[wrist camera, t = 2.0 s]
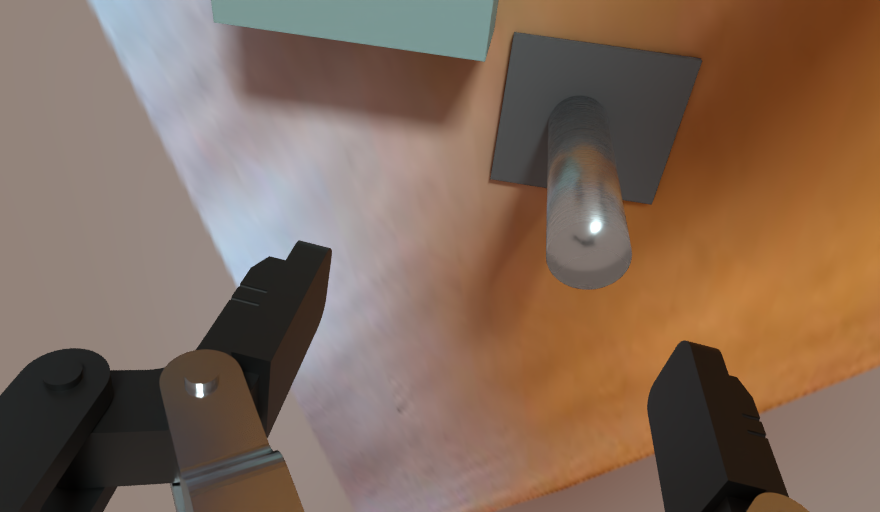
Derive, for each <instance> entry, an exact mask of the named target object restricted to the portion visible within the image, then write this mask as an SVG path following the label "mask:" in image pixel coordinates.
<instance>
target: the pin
mask: <svg viewBox="0 0 880 512" xmlns="http://www.w3.org/2000/svg"><path fill="white" fill-rule="evenodd" d="M631 258H632V250H631V245H630V239H629V234H628V228H627V223H626V217H625V212H624V206H623V201H622V195H621V190H620V184H619V179H618V173H617V168H616V162H615V157H614V151H613V146H612V140H611V135H610V129H609V124H608V118H607V114H606V111H605V109H604V108H603V106H602V105H601V104H600V103H599V102H598V101H596V100H595V99H593V98H591V97H587V96H572V97H569V98H566V99H564V100H563V101H561V102H560V103H558V104H557V105H556V106H555V108H554V109H553V111H552V112H551V114H550V117H549V122H548V176H547V236H546V261H547V265H548V268H549V270H550V271H551V273H552V274H553V275H554V276H555V277H556V278H557V279H558V280H559V281H560V282H562V283H564V284H566V285H568V286H570V287H573V288H578V289H597V288H602V287H605V286H608V285H610V284H612V283H614V282H615V281H617V280H618V279H619V278H621V277H622V276H623V275H624V273H625V272H626V271H627V269H628V268H629V265H630V263H631Z"/></svg>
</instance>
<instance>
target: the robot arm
mask: <svg viewBox="0 0 880 512" xmlns="http://www.w3.org/2000/svg"><path fill="white" fill-rule="evenodd" d="M331 256H332V250H331V248H327V247H323V246H319V245H315V244H311V243H308V242H304V241H298V242H297V243H296V244H295V246H294V248H293V249H292V251H291V253H290V254H289V256H288V258H287V259H286V260H282V259H278V258H274V257H270V256H269V257H268V258H266V259H264V260H263V261H261V262H260V263H258V264H256V265H255V266H253V267H251V269H250V270H249V271H248V273H247V274H246V276H245V277H244V279H243V280H242V282H241V283H240V287H238V288H237V289H236V291H235V292H234V294H233V295H232V298H231V300H229V302H228V303H227V304H226V306H225V307H224V309H223V311H222V312H221V313H220V315H219V316H218V318H217V319H216V321H215V323H214V324H213V325H212V327H211V328H210V330H209V331H208V333H207V335H206V336H205V337H204V339H203V340H202V342H201V343H200V345H199V346H198V347H197V349H196V350H195V351H190V352H187V353H184V354H182V355H180V356H178V357H176V358H175V359H173V360H172V361H171V362H170V363H168V365H167V366H166V367H165V368H161V369H154V370H118V371H117V370H113V371H112V370H111V371H110V368H109V365H108V363H107V361H106V360H105V359H104V358H103V357H102V356H100V355H99V354H97V353H95V352H93V351H90V350H85V349H76V348H73V349H72V348H71V349H62V350H57V351H54V352H51V353H47V354H45V355H43V356H41V357H39V358H37V359H36V360H33V361H32V362H31V363H29V364H28V365H27V366H26V367H25V368H24V369H23V370H22V371H21V372H20V374H18V376H17V377H16V378H15V379H14V380H13V381H12V383H11V384H10V385H9V386H8V387H7V388H6V390H5V391H4V392H3V393H2V394H1V395H0V512H103V511H104V509H105V507H106V506H107V504H108V502H109V500H110V498H111V497H112V495H113V493H114V492H115V490H116V488H117V486H131V485H147V484H163V483H170V486H171V490H172V495H173V499H174V504H175V508H176V512H304V509H303V507H302V504H301V501H300V499H299V496H298V493H297V491H296V488H295V486H294V483H293V481H292V478H291V475H290V473H289V470H288V467H287V465H286V463H285V460H284V458H283V456H282V454H281V453H280V452H279V451H272V449H271V447H270V445H269V443H268V440H267V438H268V436H269V434H270V432H271V429H272V427H273V425H274V423H275V421H276V418H277V416H278V414H279V412H280V410H281V407H282V405H283V403H284V401H285V399H286V396H287V394H288V392H289V390H290V388H291V385H292V383H293V381H294V379H295V377H296V374H297V372H298V370H299V368H300V366H301V363H302V361H303V359H304V357H305V355H306V353H307V350H308V348H309V346H310V344H311V342H312V339H313V337H314V335H315V333H316V331H317V328H318V326H319V323H320V321H321V318H322V314H323V311H324V307H325V302H326V295H327V287H328V280H329V272H330V264H331ZM647 410H648V417H649V423H650V428H651V434H652V440H653V445H654V451H655V457H656V462H657V468H658V474H659V480H660V485H661V491H662V496H663V502H664V508H665V512H809V511H808V510H807V509H805V508H804V507H803V506H802V505H800V504H799V503H797V502H796V501H794V500H792V499H791V498H789V496H788V493H787V490H786V488H785V485H784V482H783V480H782V477H781V474H780V471H779V469H778V466H777V463H776V460H775V458H774V455H773V452H772V449H771V447H770V444H769V441H768V439H767V438H765V436H766V433H765V431H764V427H763V425H762V422H760V421H759V419H760V416H759V414H758V411H757V408H756V406H755V403H754V400H753V397H752V396H751V395H750V394H749V392H748V391H747V390H746V388H745V387H744V386H743V385H742V383H741V382H740V381H739V379H738V378H737V377H734V376H730V375H729V374H728V371H727V368H726V365H725V362H724V359H723V356H722V354H721V352H720V350H718V349H716V348H712V347H709V346H705V345H701V344H697V343H693V342H689V341H681V342H680V343H679V344H678V345H677V347H676V348H675V350H674V351H673V353H672V355H671V356H670V358H669V359H668V361H667V363H666V364H665V366H664V367H663V369H662V371H661V372H660V374H659V375H658V377H657V379H656V380H655V382H654V383H653V385H652V387H651V390H650V393H649V397H648V405H647Z"/></svg>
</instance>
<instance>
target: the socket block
mask: <svg viewBox="0 0 880 512" xmlns="http://www.w3.org/2000/svg"><path fill="white" fill-rule="evenodd" d="M211 3H212V11H213V19H214V22H215V23H222V24H229V25H236V26H243V27H250V28H256V29H263V30H270V31H277V32H284V33H291V34H298V35H305V36H312V37H319V38H326V39H332V40H339V41H346V42H353V43H360V44H367V45H374V46H381V47H388V48H395V49H401V50H408V51H415V52H422V53H429V54H436V55H443V56H450V57H457V58H464V59H471V60H477V61H484V62H485V60H486V56H487V53H488V49H489V46H490V42H491V39H492V35H493V32H494V27H495V20H496V13H497V6H498V0H211Z"/></svg>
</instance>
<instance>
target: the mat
mask: <svg viewBox="0 0 880 512" xmlns="http://www.w3.org/2000/svg"><path fill="white" fill-rule="evenodd" d="M701 63H702V60H701V58H695V57H688V56H681V55H673V54H666V53H659V52H652V51H645V50H638V49H631V48H624V47H617V46H610V45H603V44H595V43H588V42H581V41H574V40H567V39H560V38H553V37H546V36H539V35H532V34H525V33H517V32H514V37H513V44H512V50H511V56H510V62H509V68H508V74H507V80H506V86H505V93H504V99H503V105H502V111H501V117H500V123H499V129H498V136H497V142H496V148H495V154H494V160H493V166H492V172H491V178H490V179H493V180H500V181H506V182H512V183H519V184H525V185H531V186H538V187H544V188H547V176H548V122H549V117H550V114H551V112H552V111H553V109H554V108H555V106H556V105H557V104H558V103H560V102H561V101H563V100H564V99H566V98H569V97H572V96H587V97H591V98H593V99H595V100H596V101H598V102H599V103H600V104H601V105H602V106H603V108H604V109H605V111H606V114H607V118H608V124H609V129H610V135H611V140H612V146H613V151H614V157H615V162H616V168H617V173H618V179H619V184H620V190H621V195H622V200H626V201H633V202H639V203H645V204H652V202H653V199H654V196H655V194H656V191H657V188H658V185H659V182H660V179H661V176H662V174H663V171H664V168H665V165H666V162H667V159H668V157H669V154H670V151H671V148H672V145H673V142H674V140H675V137H676V134H677V131H678V128H679V125H680V122H681V120H682V117H683V114H684V111H685V108H686V105H687V103H688V100H689V97H690V94H691V91H692V88H693V86H694V83H695V80H696V77H697V74H698V71H699V69H700V66H701Z"/></svg>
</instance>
